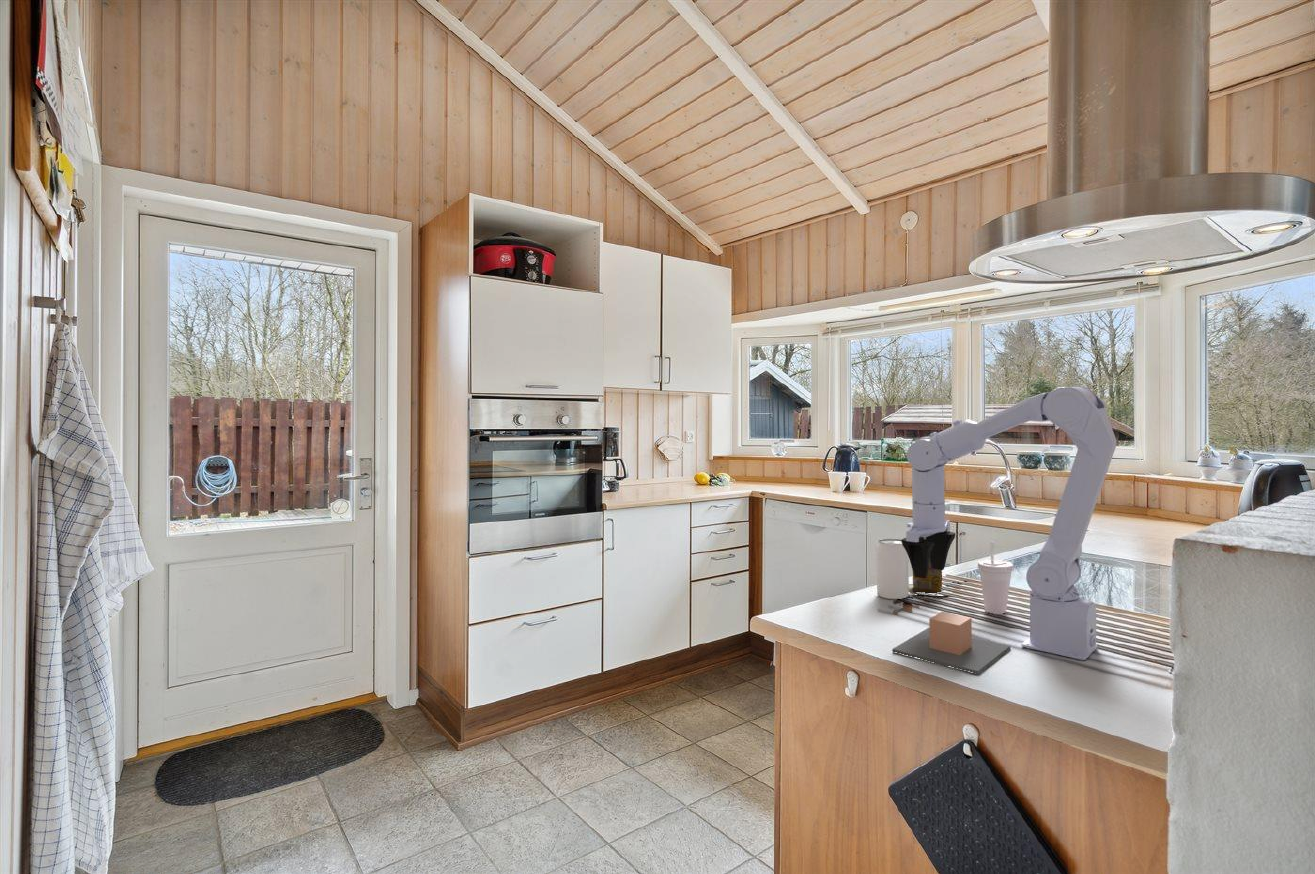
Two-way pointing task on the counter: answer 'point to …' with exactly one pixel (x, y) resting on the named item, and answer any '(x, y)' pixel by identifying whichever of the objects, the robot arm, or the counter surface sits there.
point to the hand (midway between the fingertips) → (929, 573)
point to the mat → (969, 660)
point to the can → (892, 569)
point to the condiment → (927, 581)
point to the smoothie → (995, 583)
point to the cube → (950, 633)
